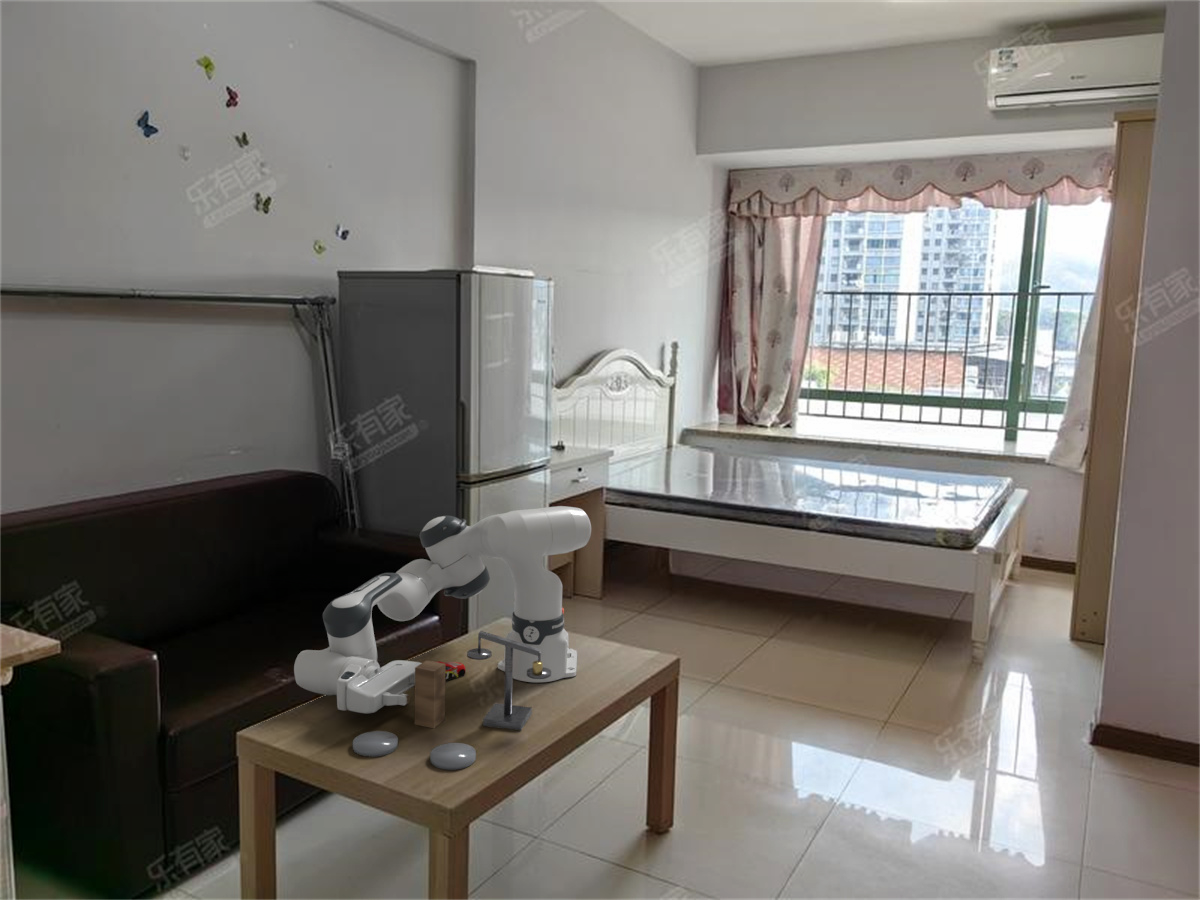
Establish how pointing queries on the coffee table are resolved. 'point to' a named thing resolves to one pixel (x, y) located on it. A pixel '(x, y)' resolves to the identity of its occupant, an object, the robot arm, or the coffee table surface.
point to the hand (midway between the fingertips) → (420, 691)
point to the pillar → (429, 694)
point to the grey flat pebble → (453, 756)
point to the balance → (509, 682)
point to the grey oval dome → (375, 743)
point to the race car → (453, 670)
